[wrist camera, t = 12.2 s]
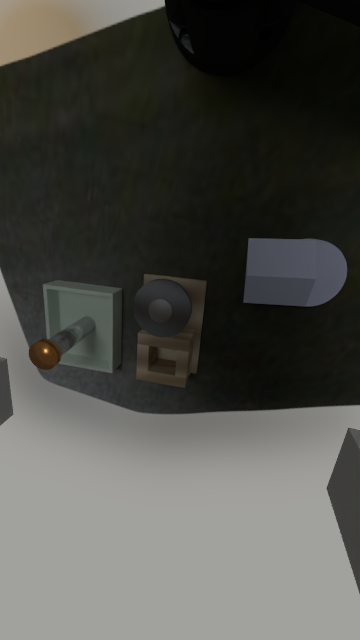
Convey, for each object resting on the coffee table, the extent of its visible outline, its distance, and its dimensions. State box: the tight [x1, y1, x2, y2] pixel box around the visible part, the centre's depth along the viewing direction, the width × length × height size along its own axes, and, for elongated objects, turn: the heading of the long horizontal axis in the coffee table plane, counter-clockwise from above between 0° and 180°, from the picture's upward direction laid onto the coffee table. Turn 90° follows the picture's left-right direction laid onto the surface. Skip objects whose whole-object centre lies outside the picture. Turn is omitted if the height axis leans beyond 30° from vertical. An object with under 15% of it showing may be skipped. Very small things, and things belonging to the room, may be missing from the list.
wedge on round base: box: [243, 238, 347, 306], centre depth 40 cm, size 9×7×13 cm
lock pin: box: [29, 316, 96, 370], centre depth 45 cm, size 4×4×13 cm
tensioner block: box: [133, 274, 207, 388], centre depth 45 cm, size 17×10×9 cm, turn 175°
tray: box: [43, 280, 122, 373], centre depth 51 cm, size 14×12×4 cm
